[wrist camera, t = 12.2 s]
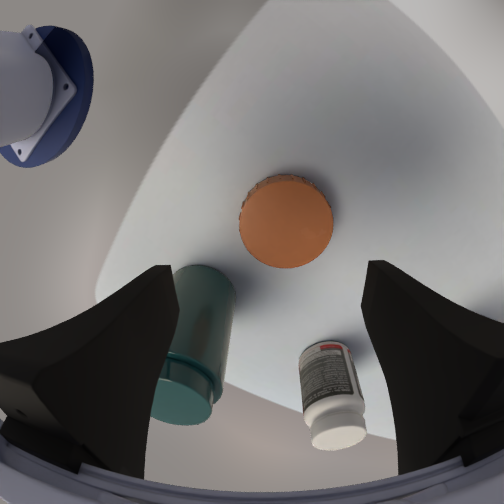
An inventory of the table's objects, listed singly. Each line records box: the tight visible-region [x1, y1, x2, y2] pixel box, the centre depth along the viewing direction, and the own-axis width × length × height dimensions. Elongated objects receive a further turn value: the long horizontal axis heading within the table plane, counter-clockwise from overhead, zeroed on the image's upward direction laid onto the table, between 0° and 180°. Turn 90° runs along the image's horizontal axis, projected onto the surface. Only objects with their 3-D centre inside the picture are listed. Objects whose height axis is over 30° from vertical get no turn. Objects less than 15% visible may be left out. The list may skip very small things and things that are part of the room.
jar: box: [150, 265, 236, 425], centre depth 18 cm, size 5×5×10 cm
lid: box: [239, 174, 333, 268], centre depth 18 cm, size 6×6×2 cm
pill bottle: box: [299, 341, 367, 450], centre depth 21 cm, size 5×5×8 cm
